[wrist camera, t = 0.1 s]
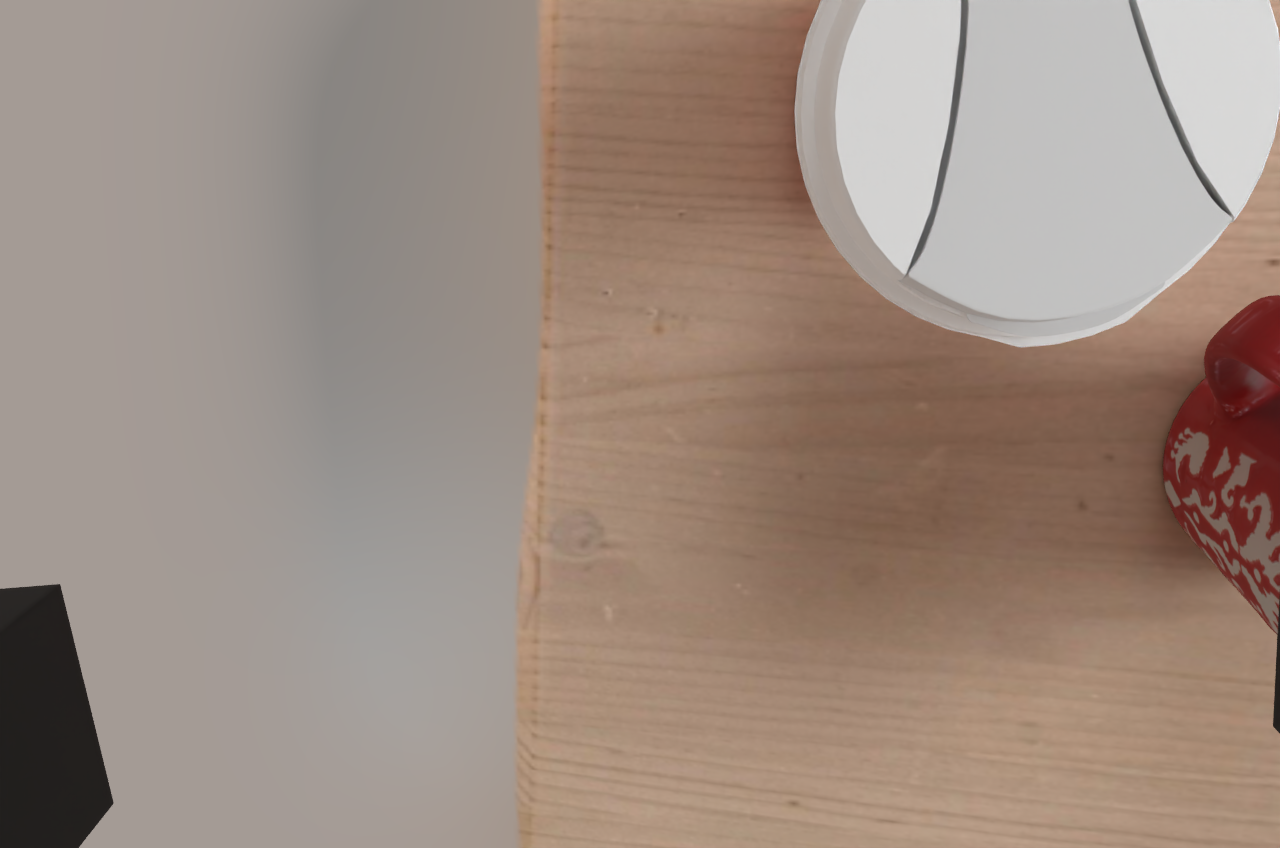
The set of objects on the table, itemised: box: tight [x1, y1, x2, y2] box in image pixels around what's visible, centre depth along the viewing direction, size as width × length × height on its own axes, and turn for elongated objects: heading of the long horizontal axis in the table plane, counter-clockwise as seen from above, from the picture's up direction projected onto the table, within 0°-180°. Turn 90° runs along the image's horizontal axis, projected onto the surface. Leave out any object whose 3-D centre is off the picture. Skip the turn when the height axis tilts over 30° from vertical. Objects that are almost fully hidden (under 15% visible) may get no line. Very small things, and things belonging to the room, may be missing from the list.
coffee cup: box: [794, 0, 1280, 348], centre depth 27 cm, size 8×8×15 cm
